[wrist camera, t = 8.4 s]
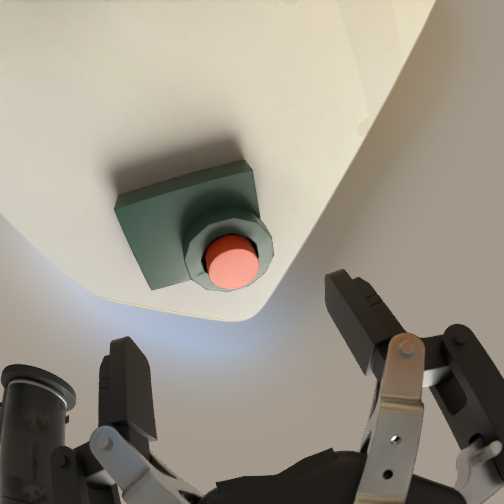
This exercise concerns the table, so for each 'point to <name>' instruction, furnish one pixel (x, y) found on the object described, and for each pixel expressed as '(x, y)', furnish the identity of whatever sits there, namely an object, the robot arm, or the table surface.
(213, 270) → the button
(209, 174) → the button block
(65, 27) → the table surface
